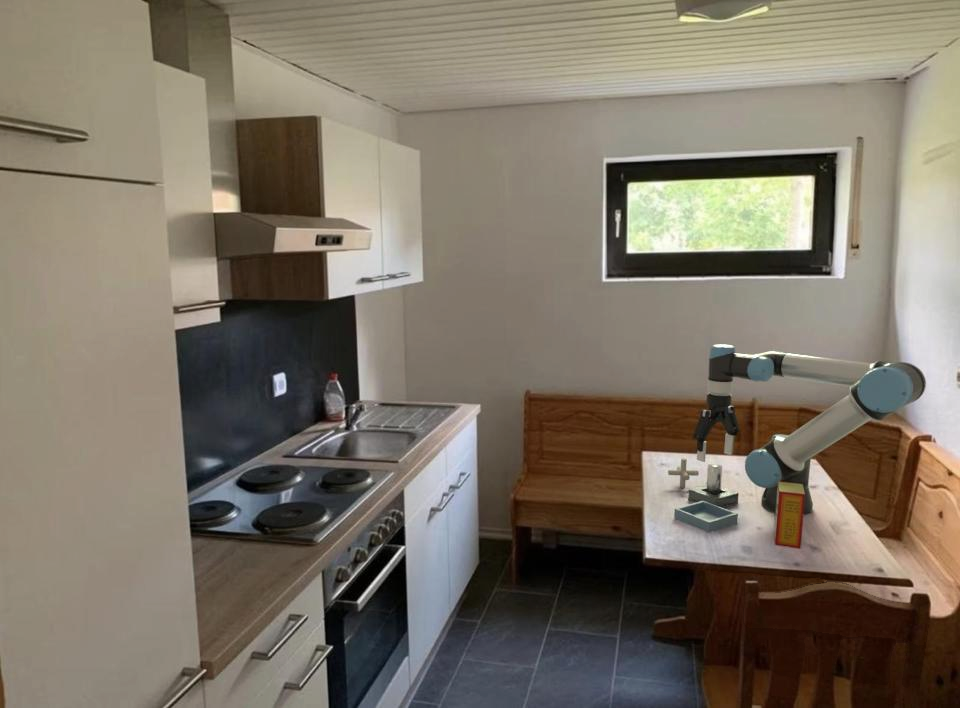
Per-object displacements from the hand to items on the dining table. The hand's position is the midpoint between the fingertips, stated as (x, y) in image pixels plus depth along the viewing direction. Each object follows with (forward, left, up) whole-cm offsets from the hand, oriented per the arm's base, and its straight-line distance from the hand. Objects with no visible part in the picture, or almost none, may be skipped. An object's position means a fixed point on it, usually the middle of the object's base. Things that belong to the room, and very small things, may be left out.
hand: (714, 457), depth 234 cm
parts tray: (-10, +16, -15) cm, 24 cm away
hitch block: (0, 0, -15) cm, 15 cm away
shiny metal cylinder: (0, 0, -15) cm, 15 cm away
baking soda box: (-32, +8, -15) cm, 36 cm away
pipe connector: (+15, -3, -15) cm, 21 cm away
